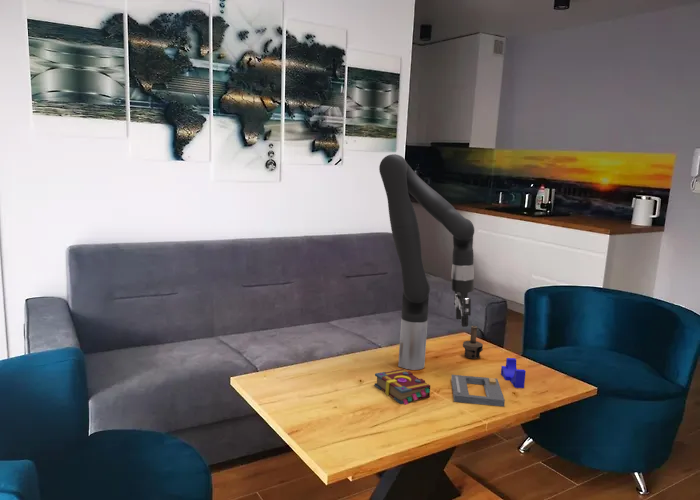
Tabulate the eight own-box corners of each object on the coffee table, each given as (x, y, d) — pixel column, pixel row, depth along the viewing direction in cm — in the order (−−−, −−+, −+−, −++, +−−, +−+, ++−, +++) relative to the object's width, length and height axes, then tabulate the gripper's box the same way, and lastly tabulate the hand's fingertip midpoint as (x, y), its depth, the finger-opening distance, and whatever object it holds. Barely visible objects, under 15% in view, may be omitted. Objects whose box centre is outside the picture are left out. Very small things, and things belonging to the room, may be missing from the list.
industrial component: (486, 358, 208) (488, 327, 206) (473, 362, 203) (476, 330, 201) (467, 350, 215) (469, 321, 213) (454, 354, 210) (456, 324, 209)
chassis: (454, 401, 168) (454, 393, 168) (451, 380, 185) (451, 372, 185) (504, 406, 167) (504, 398, 166) (496, 384, 183) (497, 376, 183)
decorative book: (402, 381, 183) (403, 366, 183) (432, 400, 170) (433, 384, 169) (374, 386, 178) (374, 372, 177) (402, 406, 164) (403, 391, 163)
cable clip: (500, 374, 193) (502, 357, 192) (513, 374, 193) (515, 358, 192) (510, 388, 181) (511, 370, 180) (523, 388, 181) (525, 371, 180)
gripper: (447, 273, 196) (446, 317, 198) (456, 281, 182) (455, 329, 184) (468, 272, 196) (467, 316, 198) (478, 281, 182) (477, 328, 184)
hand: (461, 322), depth 191 cm, fingers open, 8 cm apart
